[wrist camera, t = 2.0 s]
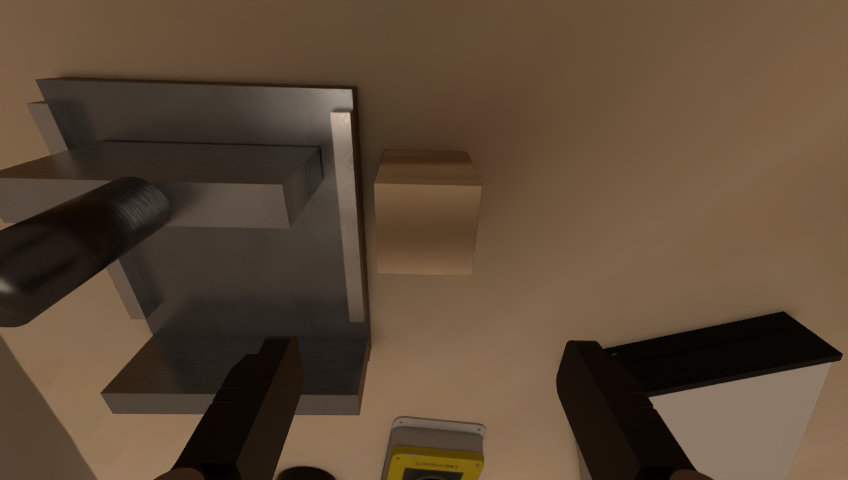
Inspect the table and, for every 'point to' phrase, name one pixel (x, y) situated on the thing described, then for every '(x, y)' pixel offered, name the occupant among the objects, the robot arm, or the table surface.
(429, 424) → the emergency button
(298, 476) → the supplement bottle
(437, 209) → the maple block
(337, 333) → the press
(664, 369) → the disc drive
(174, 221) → the jaw
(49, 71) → the table surface
